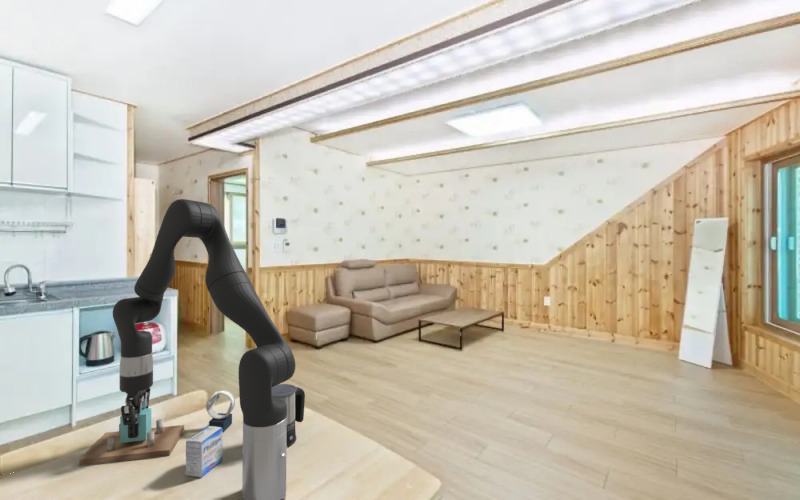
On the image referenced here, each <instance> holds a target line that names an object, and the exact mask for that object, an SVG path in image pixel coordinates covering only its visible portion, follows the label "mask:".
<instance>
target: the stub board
mask: <svg viewBox="0 0 800 500" xmlns="http://www.w3.org/2000/svg"><path fill="white" fill-rule="evenodd" d="M155 422H156V423H155V427H151V431H150V432H148V433H147V439H146V440H142V441H133V442H123V443H120V423H119V424H118V431H109V432H108V431H107V432H104V434H103V435H102V436H101V437H100V438H99V439H97V441H96V442H95V443H94V444H93V445H92V446H91V447H89V449H88V450H87V451H86V452H85V453H84V454H83V455H82V456H81V457H80V458H79V459H78V466H79V467H81V466H83V467H84V466H89V465H90V466H91V465H98V464H109V463H115V462H116V463H117V462H124V461H134V460H141V459H150V458H160V457H170V456H171V453H173V451H174V449H175V447H176V445H177V443H178V441H179V440H180V438H181V437H182V434H183V433H184V431H185V424H180V425H170V426H164V419H162V418H159V419H157V420H156V421H155Z"/></svg>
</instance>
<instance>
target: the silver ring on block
mask: <svg viewBox="0 0 800 500" xmlns="http://www.w3.org/2000/svg"><path fill="white" fill-rule="evenodd" d="M221 395H223V396H225V397H227V398H228V399H229V402H230V403H229V407H228V409H227V411H226V413H223V412H221V413H216V412H215V410H214V409H213V407H214V405H215V404H216V403H218V402H217V401H218V400H219V399H220V396H221ZM235 401H236V399H235V397H234V395H233V394H232V393H231V392H230V391H228V390H225V389H224V390H223V389H222V390H219V391H217V390H216V391H215V392H214V393H212V394H211V396H210V397H209V399H208V400H207V401H206V403H205V407H206V408H205V409H206V411H207V414H208V415H209V416H210V417H211V419H210V420H209V421H208V426H215V427H221V428H223V433H225V431H227V429H228V428H229V427H230V426H232V424H233V413H232V412H233V410H234V408H235V405H236V402H235Z"/></svg>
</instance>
